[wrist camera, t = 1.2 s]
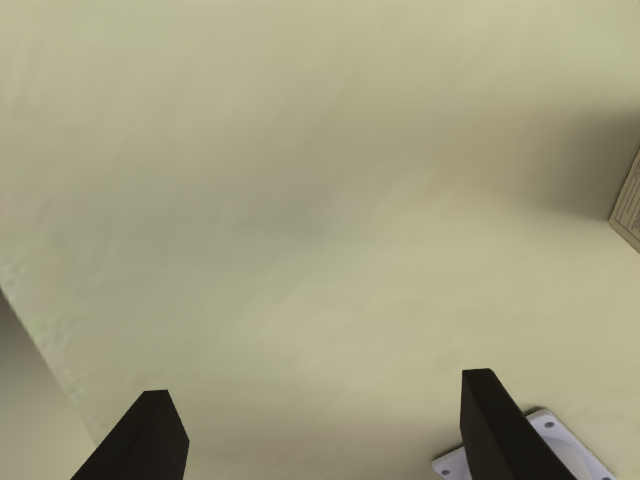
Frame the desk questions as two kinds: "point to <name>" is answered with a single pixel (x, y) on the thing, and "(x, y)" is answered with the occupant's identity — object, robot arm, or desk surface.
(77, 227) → the desk surface
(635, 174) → the box
